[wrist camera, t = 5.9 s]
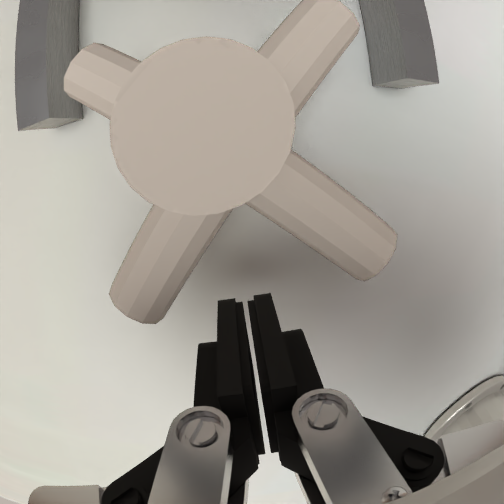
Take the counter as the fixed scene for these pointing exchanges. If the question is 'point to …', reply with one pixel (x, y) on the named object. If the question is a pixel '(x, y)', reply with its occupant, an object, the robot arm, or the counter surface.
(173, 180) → the pipe connector
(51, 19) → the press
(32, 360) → the counter surface
